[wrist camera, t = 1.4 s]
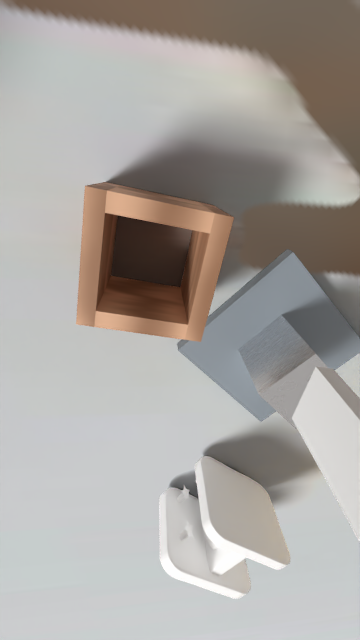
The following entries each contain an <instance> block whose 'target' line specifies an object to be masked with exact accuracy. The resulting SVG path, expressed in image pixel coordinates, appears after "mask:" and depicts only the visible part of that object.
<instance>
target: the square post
mask: <svg viewBox="0 0 360 640" xmlns="http://www.w3.org/2000/svg"><path fill="white" fill-rule="evenodd" d="M238 351H239V353H240V355H241V357H242V359H243V361H244V364H245V366H246V368H247V370H248V372H249V374H250V376H251V379H252V381H253V383H254V385H255V387H256V389H257V392H258V394H259V395H260V396H261V397H262V398H263V399H264V400H265V401H266V402H267V403H268V404H269V405H271V406H272V407H273V408H274V409H275V410H276V411H277V412H278V413H279V414H280V415H281V416H283V417H284V418H285V419H286V420H287V421H288V422H289V423H290V424H291V425H292V426H294V427H295V428H296V429H297V427H296V425H295V423H294V421H293V420H292V416H293V414H294V412H295V410H296V408H297V406H298V404H299V401H300V399H301V397H302V395H303V393H304V391H305V389H306V387H307V384H308V382H309V380H310V378H311V376H312V374H313V372H314V369H315V367H323V368H328V367H327V366H326V365H325V363H324V362H323V361H322V360H321V359H320V358H319V357H318V355H317V354H316V353H315V352H314V351H313V350H312V349H311V348H310V346H309V345H308V344H307V343H306V342H305V341H304V340H303V339H302V337H301V336H300V335H299V334H298V333H297V332H296V331H295V329H294V328H293V327H292V326H291V325H290V324H289V323H288V322H287V320H286V319H285V318H284V317H283V316H282V315H280V316H279V317H278V318H277V319H275V320H274V321H273V322H272V323H270V324H269V325H268V326H267V327H265V328H264V329H263V330H262V331H260V332H259V333H258V334H257V335H255V336H254V337H253V338H252V339H250V340H249V341H248V342H247V343H245V344H244V345H243V346H242V347H240V348H239V349H238Z"/></svg>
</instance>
